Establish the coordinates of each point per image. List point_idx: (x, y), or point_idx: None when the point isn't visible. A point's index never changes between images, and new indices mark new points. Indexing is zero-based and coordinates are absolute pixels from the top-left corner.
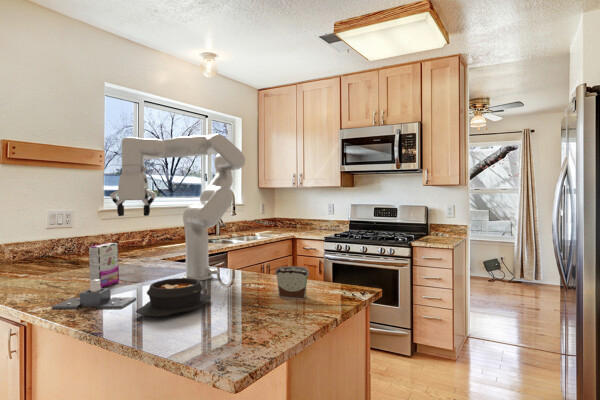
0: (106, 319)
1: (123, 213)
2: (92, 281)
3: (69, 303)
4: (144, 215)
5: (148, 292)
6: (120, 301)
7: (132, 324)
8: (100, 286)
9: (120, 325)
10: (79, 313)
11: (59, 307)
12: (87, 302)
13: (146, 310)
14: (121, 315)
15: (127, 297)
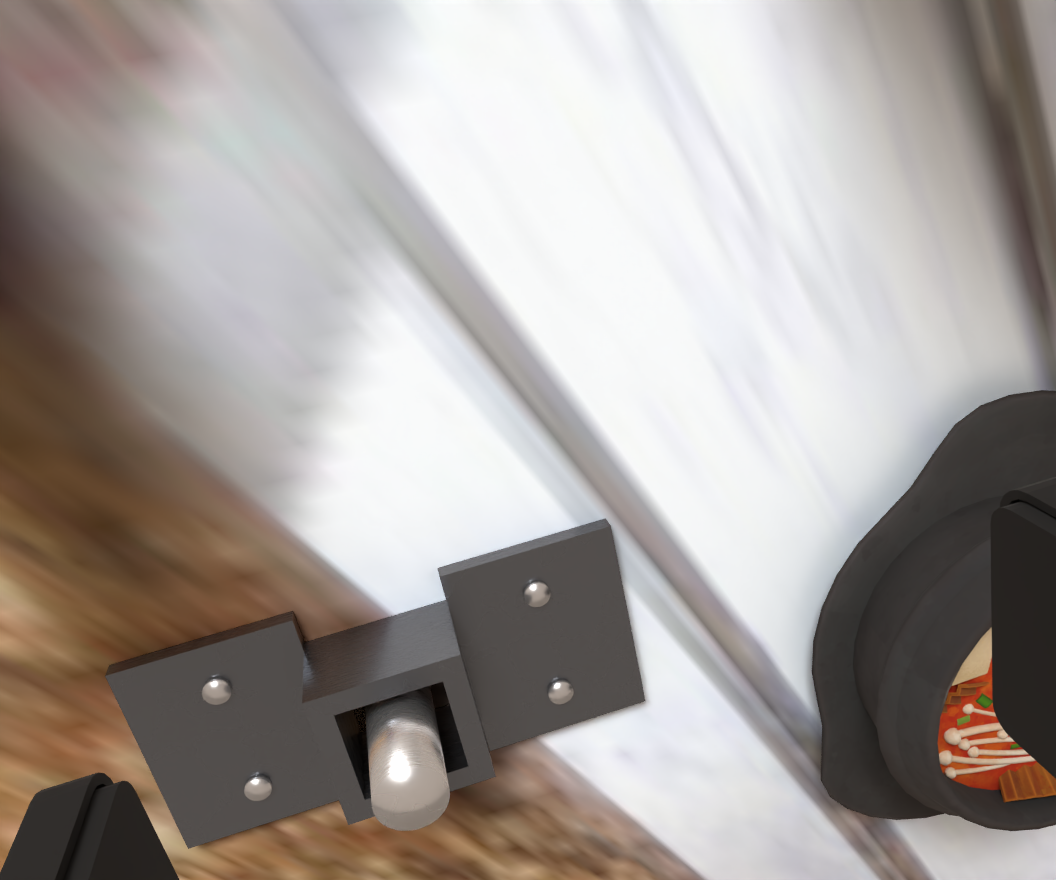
0: (679, 837)
1: (127, 863)
2: (418, 827)
3: (266, 789)
4: (1017, 717)
5: (920, 794)
6: (568, 634)
7: (845, 838)
8: (437, 740)
9: (799, 865)
10: (454, 828)
11: (240, 825)
12: None
13: (885, 780)
14: (716, 773)
15: (549, 546)
